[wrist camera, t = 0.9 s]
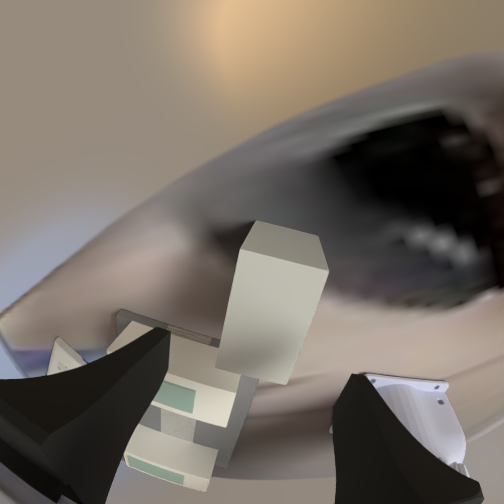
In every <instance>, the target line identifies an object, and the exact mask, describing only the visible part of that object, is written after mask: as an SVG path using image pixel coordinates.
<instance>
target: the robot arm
mask: <svg viewBox="0 0 504 504" xmlns="http://www.w3.org/2000/svg"><path fill="white" fill-rule="evenodd" d="M170 340H171V331H169V330H166V329H163V328H160V327H155V328H153V329H152V330H150V331H148V332H147V333H145V334H143V335H142V336H140V337H138V338H137V339H135V340H133V341H132V342H130V343H128V344H127V345H125V346H123V347H121V348H119V349H118V350H116V351H114V352H112V353H110V354H108V355H106V356H104V357H102V358H100V359H98V360H95V361H93V362H91V363H88V364H85V365H83V366H80V367H77V368H74V369H71V370H67V371H63V372H59V373H55V374H51V375H46V376H41V377H33V378H25V379H0V504H105V502H106V499H107V496H108V493H109V490H110V487H111V484H112V482H113V479H114V476H115V474H116V471H117V468H118V466H119V464H120V461H121V459H122V456H123V454H124V452H125V449H126V447H127V445H128V443H129V440H130V438H131V436H132V434H133V432H134V430H135V429H136V427H137V425H138V424H139V422H140V420H141V419H142V417H143V415H144V414H145V412H146V411H147V409H148V407H149V406H150V404H151V402H152V401H153V399H154V397H155V396H156V394H157V393H158V391H159V389H160V387H161V385H162V383H163V380H164V378H165V376H166V373H167V371H168V369H169V354H170ZM372 379H374V380H372ZM370 380H372V381H370ZM448 387H449V384H448V382H444V381H431V380H420V379H410V378H400V377H392V376H384V375H376V374H364V375H358V374H351V376H350V378H349V380H348V382H347V384H346V385H345V387H344V389H343V391H342V392H341V394H340V396H339V398H338V399H337V401H336V403H335V404H334V406H333V417H332V425H331V427H330V428H329V432H330V433H331V434H333V444H334V454H335V465H336V494H335V504H481V503H482V502H483V500H484V497H483V494H482V490H481V487H480V484H479V482H477V481H475V480H473V479H471V478H470V476H469V474H468V471H467V469H466V467H465V465H464V464H462V462H463V459H464V455H465V448H466V442H465V436H464V433H463V431H462V428H461V426H460V424H459V422H458V419H457V417H456V415H455V413H454V411H453V409H452V407H451V405H450V403H449V400H448V398H447V396H446V394H445V391H446V390H447V389H448Z"/></svg>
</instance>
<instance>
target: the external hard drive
mask: <svg viewBox="0 0 504 504" xmlns="http://www.w3.org/2000/svg"><path fill="white" fill-rule="evenodd" d="M85 364H88V363H87V362H85V361H84V360H83V358H82V357H81V356H80V355H79V354H78V353H77V352H75V351H74V350H73V349H72V348H71V347H70V346H69V345H68V344H66V343H65V342H64V341H63V340H62V339H61V338H60V337H58V338H57V339H56V340H55V342H54V347H53V350H52V354H51V358H50V363H49V368H48V372H47V375H51V374H55V373H59V372H63V371H67V370H71V369H74V368H77V367H80V366H83V365H85Z"/></svg>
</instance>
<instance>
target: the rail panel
mask: <svg viewBox="0 0 504 504" xmlns="http://www.w3.org/2000/svg"><path fill="white" fill-rule="evenodd" d="M155 327H160V328H163V329H166V330H169V331H171V340H170V354H169V369H168V371H167V373H166V376H165V378H164V380H163V383H162V385H161V387H160V389H159V391H158V393H157V394H156V396H155V397H154V399H153V401H152V402H151V404H150V406H149V407H148V409H147V411H146V412H145V414H144V415H143V417H142V419H141V420H140V422H139V424H138V425H137V427H136V429H135V430H134V432H133V434H132V436H131V438H130V440H129V443H128V445H127V447H126V449H125V452H124V457H125V461H126V465H127V466H129V467H131V468H134V469H136V470H139V471H141V472H144V473H146V474H149V475H152V476H154V477H157V478H160V479H163V480H166V481H169V482H171V483H174V484H178V485H181V486H184V487H188V488H191V489H194V490H198V491H202V492H206V491H207V488H208V485H209V482H210V478H211V475H212V471H213V468H214V466H218V467H222V468H227V466H228V464H229V461H230V458H231V456H232V453H233V451H234V448H235V445H236V443H237V440H238V437H239V435H240V432H241V429H242V427H243V424H244V421H245V418H246V416H247V413H248V410H249V407H250V404H251V402H252V399H253V396H254V393H255V390H256V387H257V384H258V382H259V379H256V378H252V377H248V376H244V375H240V374H236V373H232V372H228V371H225V370H221V369H217V368H215V365H216V360H217V355H218V351H219V346H220V341H221V340H218V339H214V338H211V337H207V336H204V335H200V334H197V333H193V332H190V331H187V330H184V329H180V328H177V327H174V326H171V325H168V324H165V323H162V322H158V321H155V320H152V319H150V318H147V317H144V316H141V315H138V314H135V313H132V312H129V311H127V310H124V309H121V310H120V311H119V312H118V313H117V314H116V329H117V338H116V339H115V341H114V342H113V343H112V344H111V345H110V346H109V347H108V349H107V355H108V354H110V353H112V352H114V351H116V350H118V349H119V348H121V347H123V346H125V345H127V344H128V343H130V342H132V341H133V340H135V339H137V338H138V337H140V336H142V335H143V334H145V333H147V332H148V331H150V330H152V329H153V328H155Z"/></svg>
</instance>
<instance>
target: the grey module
mask: <svg viewBox="0 0 504 504" xmlns="http://www.w3.org/2000/svg"><path fill="white" fill-rule="evenodd" d="M328 273H329V269H328V266H327V263H326V260H325V256H324V253H323V250H322V247H321V244H320V240H319V237H318V236H316V235H312V234H308V233H305V232H301V231H297V230H293V229H289V228H285V227H281V226H277V225H273V224H269V223H265V222H261V221H257V220H256V221H255V223H254V225H253V227H252V228H251V230H250V232H249V234H248V236H247V237H246V239H245V241H244V243H243V244H242V246H241V248H240V251H239V256H238V261H237V265H236V270H235V274H234V279H233V284H232V288H231V293H230V298H229V303H228V307H227V312H226V317H225V322H224V326H223V331H222V336H221V341H220V346H219V351H218V355H217V360H216V365H215V368H217V369H221V370H225V371H228V372H232V373H236V374H240V375H244V376H248V377H252V378H256V379H260V380H265V381H269V382H274V383H278V384H283V385H286V384H287V382H288V379H289V377H290V375H291V372H292V370H293V367H294V365H295V362H296V360H297V357H298V355H299V352H300V350H301V347H302V345H303V342H304V340H305V337H306V334H307V332H308V329H309V327H310V324H311V321H312V319H313V316H314V313H315V310H316V308H317V305H318V302H319V299H320V296H321V293H322V291H323V288H324V285H325V282H326V279H327V276H328Z"/></svg>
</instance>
